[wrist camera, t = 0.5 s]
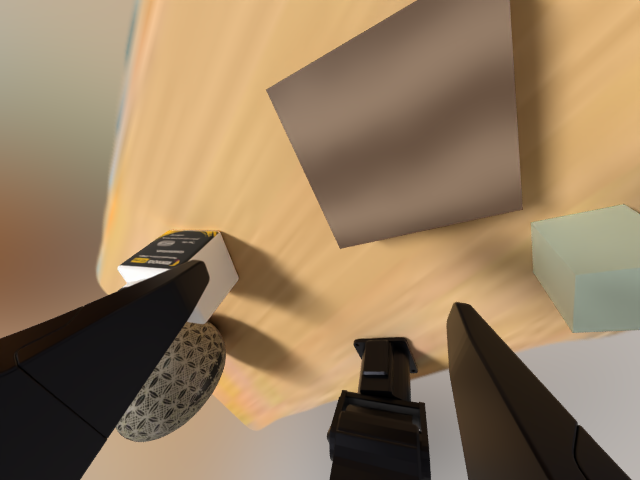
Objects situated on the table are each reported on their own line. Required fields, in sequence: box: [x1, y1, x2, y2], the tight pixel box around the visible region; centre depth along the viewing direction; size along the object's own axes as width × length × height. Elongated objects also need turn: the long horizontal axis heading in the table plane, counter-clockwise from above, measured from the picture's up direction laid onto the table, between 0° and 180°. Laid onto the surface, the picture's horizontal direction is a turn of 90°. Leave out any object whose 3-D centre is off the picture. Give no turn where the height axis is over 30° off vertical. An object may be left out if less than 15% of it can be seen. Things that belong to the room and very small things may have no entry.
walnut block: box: [266, 0, 523, 249], centre depth 17 cm, size 12×12×4 cm
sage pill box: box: [531, 204, 640, 333], centre depth 16 cm, size 5×5×6 cm
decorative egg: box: [116, 321, 226, 442], centre depth 34 cm, size 12×12×15 cm
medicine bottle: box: [118, 230, 239, 324], centre depth 25 cm, size 7×7×12 cm
